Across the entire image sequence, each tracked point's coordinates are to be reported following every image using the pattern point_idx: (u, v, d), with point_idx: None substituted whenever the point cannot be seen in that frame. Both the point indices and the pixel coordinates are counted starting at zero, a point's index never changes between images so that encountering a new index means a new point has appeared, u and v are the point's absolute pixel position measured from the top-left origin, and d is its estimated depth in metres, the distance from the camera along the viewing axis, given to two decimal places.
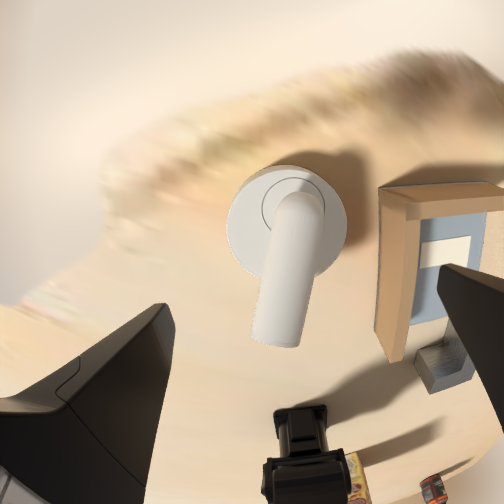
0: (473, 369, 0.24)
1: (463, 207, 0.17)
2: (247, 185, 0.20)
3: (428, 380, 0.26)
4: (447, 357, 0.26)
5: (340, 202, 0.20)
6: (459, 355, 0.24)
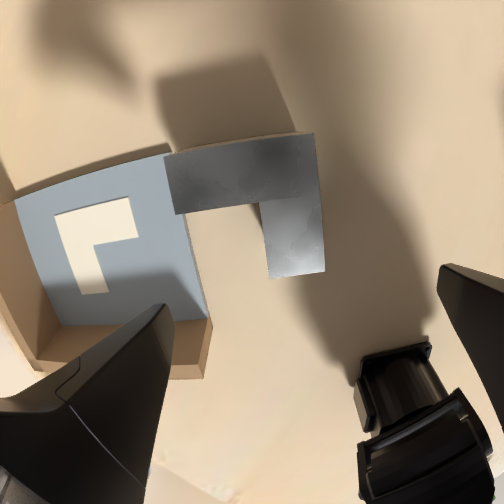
0: (268, 148, 0.11)
1: (7, 315, 0.15)
2: None
3: None
4: None
5: None
6: None
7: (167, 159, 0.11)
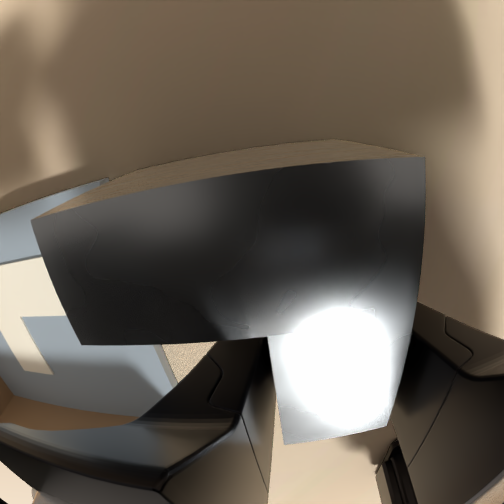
0: (299, 196, 0.04)
1: None
2: None
3: None
4: None
5: None
6: None
7: (39, 226, 0.04)
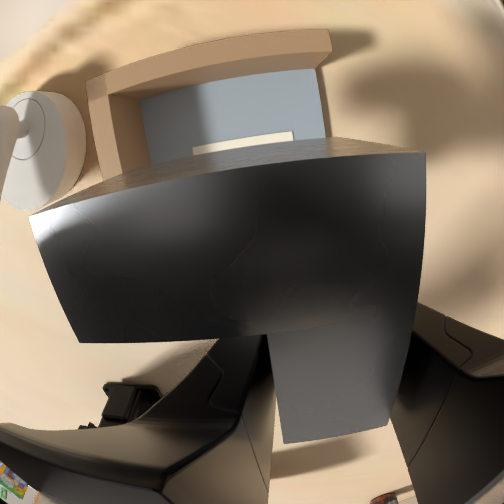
0: (299, 191, 0.04)
1: (181, 60, 0.11)
2: None
3: None
4: None
5: (56, 110, 0.14)
6: None
7: (38, 222, 0.04)
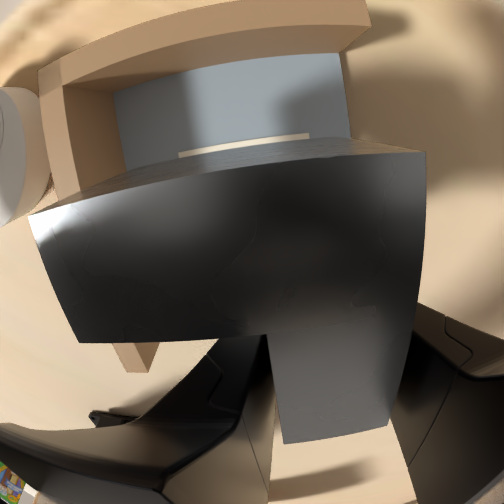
0: (299, 190, 0.04)
1: (158, 34, 0.07)
2: None
3: None
4: None
5: (15, 109, 0.10)
6: None
7: (37, 222, 0.04)
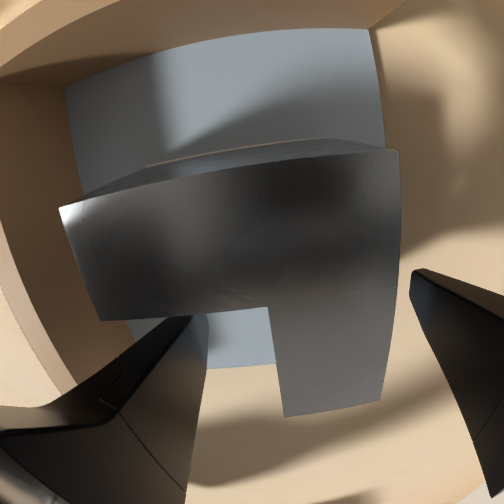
0: (292, 184, 0.05)
1: None
2: None
3: None
4: None
5: None
6: None
7: (67, 213, 0.05)
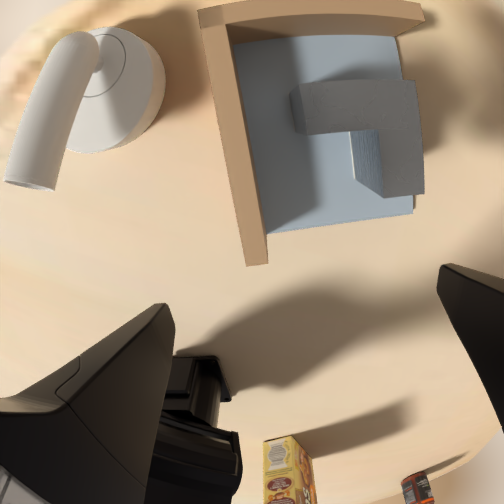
0: (384, 87, 0.12)
1: (303, 5, 0.11)
2: None
3: None
4: (362, 138, 0.15)
5: (142, 45, 0.14)
6: None
7: (303, 86, 0.12)
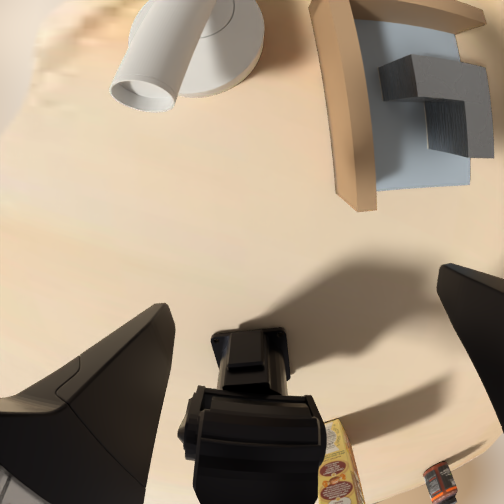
0: (467, 68, 0.11)
1: None
2: None
3: None
4: (443, 110, 0.15)
5: (252, 0, 0.13)
6: (438, 99, 0.14)
7: (414, 56, 0.12)
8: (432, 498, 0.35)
